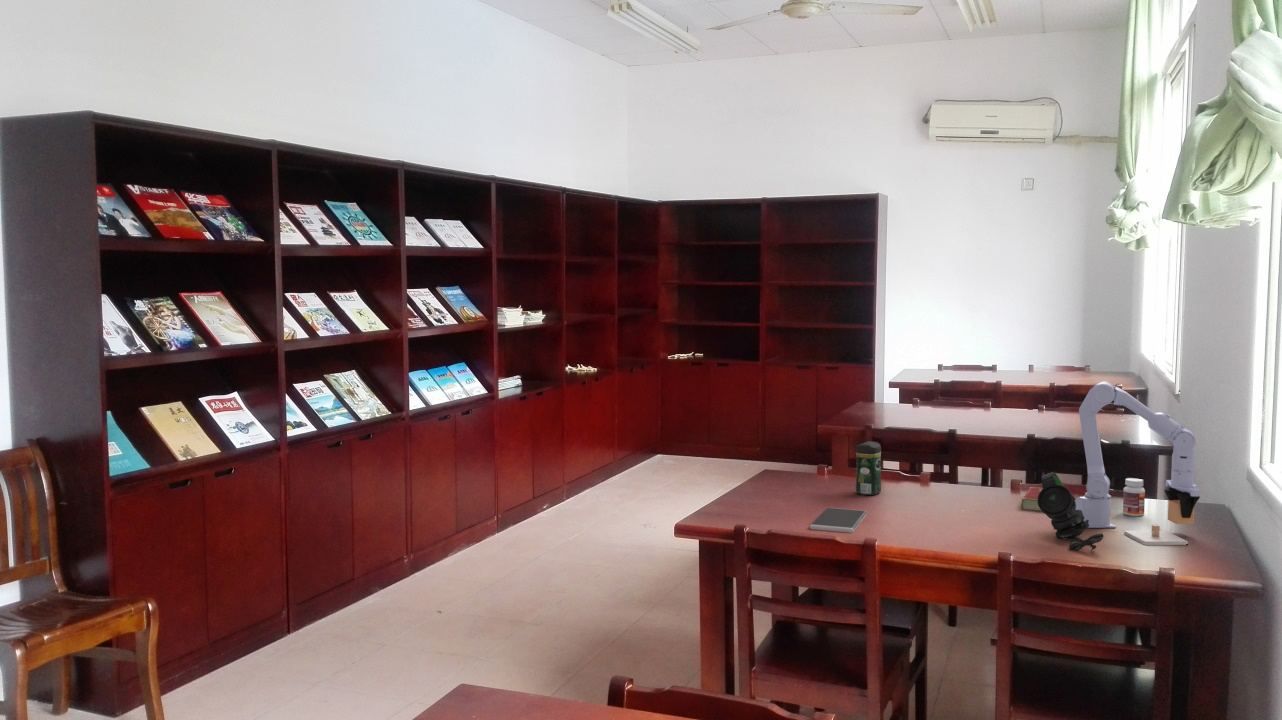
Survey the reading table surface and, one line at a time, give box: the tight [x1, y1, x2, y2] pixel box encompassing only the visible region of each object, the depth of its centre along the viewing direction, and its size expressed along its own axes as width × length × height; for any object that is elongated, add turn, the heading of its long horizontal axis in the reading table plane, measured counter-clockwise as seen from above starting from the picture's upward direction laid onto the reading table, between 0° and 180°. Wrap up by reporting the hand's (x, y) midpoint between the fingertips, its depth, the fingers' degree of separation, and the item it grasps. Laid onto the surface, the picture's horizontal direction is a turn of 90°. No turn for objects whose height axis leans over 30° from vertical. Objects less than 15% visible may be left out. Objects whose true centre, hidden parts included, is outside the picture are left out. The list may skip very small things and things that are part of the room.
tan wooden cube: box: [1167, 500, 1196, 525], centre depth 281 cm, size 5×5×6 cm
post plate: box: [1123, 524, 1189, 546], centre depth 274 cm, size 12×12×4 cm
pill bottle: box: [1122, 477, 1146, 517], centre depth 305 cm, size 6×6×11 cm
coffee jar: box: [855, 440, 882, 496], centre depth 339 cm, size 10×8×19 cm
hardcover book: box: [1021, 486, 1043, 511], centre depth 320 cm, size 12×21×4 cm, turn 152°
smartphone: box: [809, 507, 868, 534], centre depth 299 cm, size 13×27×2 cm, turn 158°
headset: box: [1038, 471, 1104, 551], centre depth 275 cm, size 18×14×29 cm
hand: (1180, 515), depth 281 cm, fingers closed on tan wooden cube, 5 cm apart
